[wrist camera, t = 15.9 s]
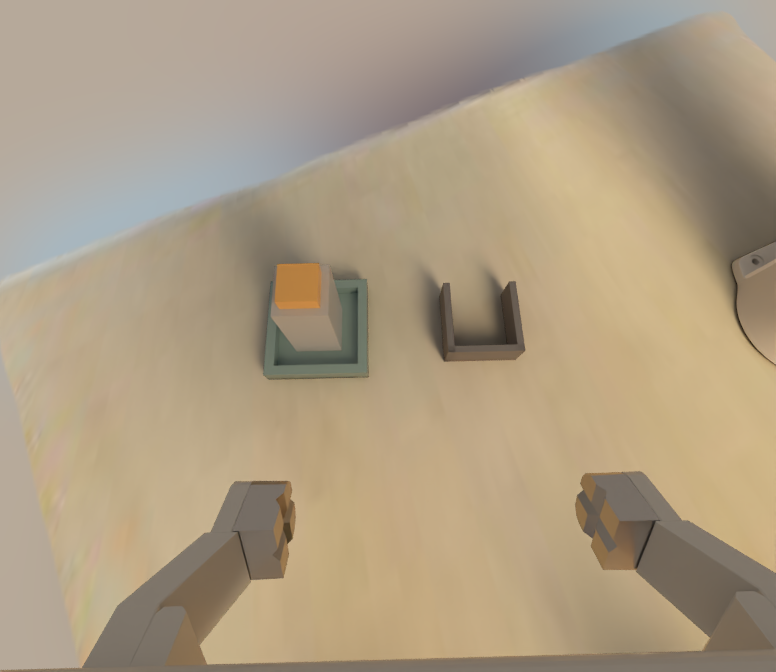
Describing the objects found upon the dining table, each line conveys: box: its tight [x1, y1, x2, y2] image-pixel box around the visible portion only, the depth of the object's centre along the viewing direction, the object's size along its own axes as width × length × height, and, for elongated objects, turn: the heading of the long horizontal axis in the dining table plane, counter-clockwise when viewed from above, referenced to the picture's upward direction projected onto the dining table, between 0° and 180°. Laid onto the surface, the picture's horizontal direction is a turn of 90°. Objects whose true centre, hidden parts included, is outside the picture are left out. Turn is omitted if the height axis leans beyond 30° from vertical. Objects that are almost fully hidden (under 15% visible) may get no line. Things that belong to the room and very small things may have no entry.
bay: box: [439, 281, 525, 361], centre depth 45 cm, size 8×8×4 cm
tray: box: [263, 279, 368, 379], centre depth 45 cm, size 11×11×2 cm
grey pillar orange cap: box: [271, 263, 342, 352], centre depth 40 cm, size 5×5×12 cm
